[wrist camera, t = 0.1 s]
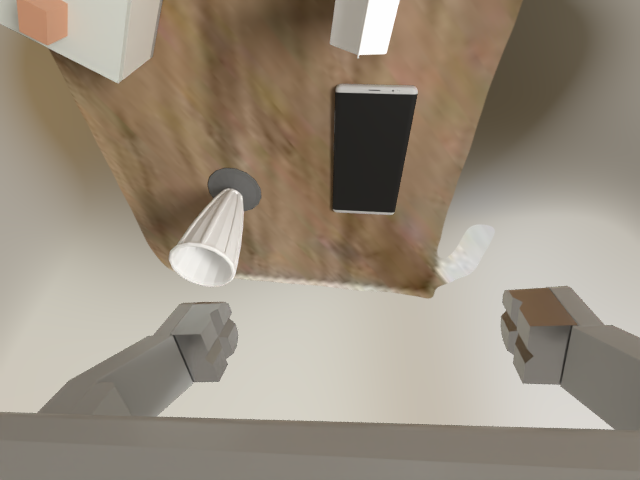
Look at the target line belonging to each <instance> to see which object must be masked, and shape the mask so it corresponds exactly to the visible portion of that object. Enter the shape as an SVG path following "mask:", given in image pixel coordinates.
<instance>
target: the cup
mask: <svg viewBox="0 0 640 480" xmlns="http://www.w3.org/2000/svg"><path fill="white" fill-rule="evenodd" d="M208 188H209V192H210V194H211V195H212V197H213V198H214V199H213V200H212V201H211V202H210V203H209V204H208V205H207V206H206V207H205V208H204V209H203V211H202V212H201V213H200V214H199V215H198V217H197V218H196V219H195V220H194V221H193V223H192V224H191V225H190V227H189V228H188V230H187V231H186V232H185V234H184V235H183V237H182V238H181V240H180V241H179V243H178V244H177V245H176V246H175V247H174V248H173V249H172V250H171V251H170V254H169V261H170V263H171V266H172V268H173V269H174V270H175V271H176V272H177V273H178V274H179V275H180V276H181V277H183V278H184V279H186V280H188V281H190V282H192V283H195V284H198V285H201V286H210V287H217V286H222V285H225V284H227V283H229V282H230V281H232V280H233V278H234V276H235V273H236V269H237V264H238V259H239V253H240V248H241V240H242V231H243V216H244V211H247V210H251V209H253V208H254V207H255V206H257V205H258V204H259V201H260V199H261V191H260V187H259V186H258V184H257V182H256V181H255V180H254V179H253V178H252V177H251V176H250V175H248V174H247V173H245V172H243V171H240V170H238V169H232V168H224V169H220V170H217V171H215V172H214V173H213V174H212V175H211V176H210V178H209V181H208Z"/></svg>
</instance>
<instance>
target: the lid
mask: <svg viewBox="0 0 640 480" xmlns="http://www.w3.org/2000/svg"><path fill="white" fill-rule="evenodd" d="M130 8H131V0H0V24H2V25H3V26H6V27H7V28H9V29H11V30H13V31H15V32H17V33H20V34H21V35H23V36H25V37H27V38H29V39H31V40H33V41H35V42H37V43H39V44H41V45H43V46H45V47H47V48H49V49H51V50H53V51H55V52H57V53H59V54H61V55H63V56H65V57H67V58H69V59H71V60H73V61H75V62H77V63H79V64H81V65H83V66H85V67H87V68H89V69H91V70H93V71H95V72H97V73H98V74H100V75H102V76H104V77H106V78H108V79H110V80H112V81H114V82H116V83H119V82H121V81H122V74H123V66H124V58H125V49H126V41H127V33H128V24H129V16H130Z"/></svg>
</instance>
